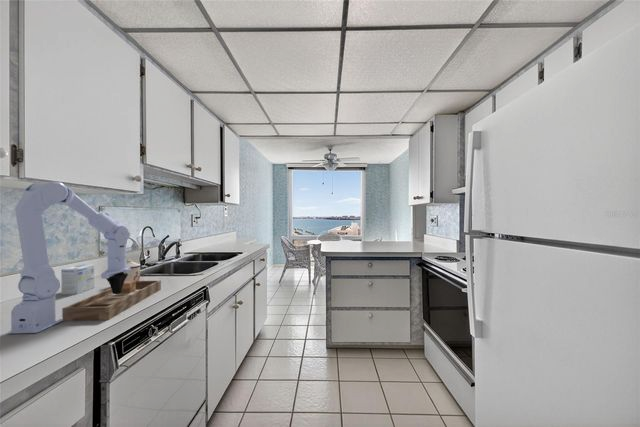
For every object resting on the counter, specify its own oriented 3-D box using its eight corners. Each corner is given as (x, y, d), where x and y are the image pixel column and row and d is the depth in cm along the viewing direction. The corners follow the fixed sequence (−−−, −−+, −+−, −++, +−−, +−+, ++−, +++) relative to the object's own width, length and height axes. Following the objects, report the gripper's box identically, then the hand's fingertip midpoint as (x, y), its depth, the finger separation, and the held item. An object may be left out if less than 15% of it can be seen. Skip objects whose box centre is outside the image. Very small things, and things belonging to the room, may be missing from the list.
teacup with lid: (137, 285, 135) (137, 260, 135) (115, 287, 132) (114, 262, 132) (144, 279, 146) (144, 257, 146) (123, 281, 143) (123, 257, 143)
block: (130, 293, 114) (130, 283, 114) (119, 293, 114) (119, 283, 114) (135, 290, 118) (135, 280, 118) (125, 290, 118) (125, 281, 118)
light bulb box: (79, 287, 131) (79, 264, 131) (95, 287, 132) (95, 264, 132) (60, 294, 120) (60, 269, 120) (77, 294, 121) (77, 268, 121)
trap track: (108, 319, 93) (108, 307, 93) (62, 320, 92) (62, 308, 92) (160, 289, 129) (160, 280, 129) (127, 290, 128) (127, 281, 128)
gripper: (116, 260, 102) (116, 299, 102) (138, 254, 116) (138, 288, 116) (95, 260, 101) (95, 299, 101) (120, 254, 116) (120, 288, 116)
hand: (116, 293), depth 109 cm, fingers closed
